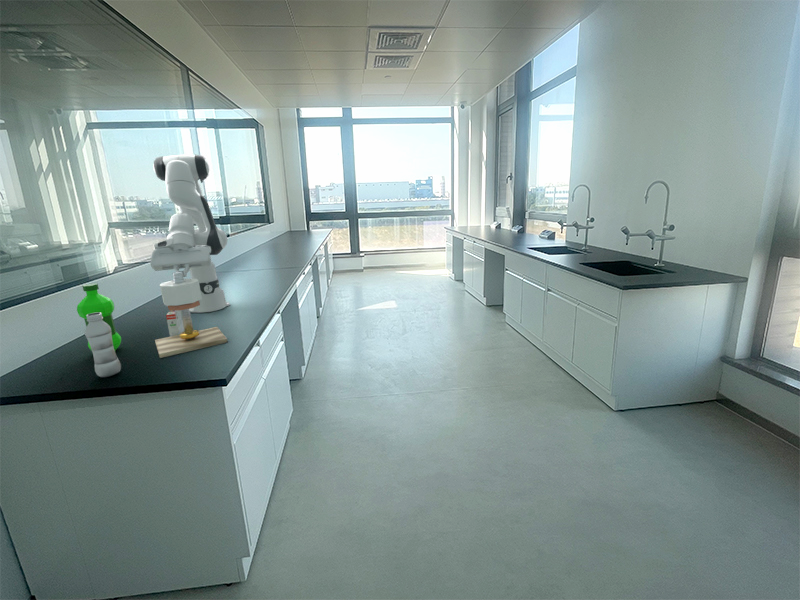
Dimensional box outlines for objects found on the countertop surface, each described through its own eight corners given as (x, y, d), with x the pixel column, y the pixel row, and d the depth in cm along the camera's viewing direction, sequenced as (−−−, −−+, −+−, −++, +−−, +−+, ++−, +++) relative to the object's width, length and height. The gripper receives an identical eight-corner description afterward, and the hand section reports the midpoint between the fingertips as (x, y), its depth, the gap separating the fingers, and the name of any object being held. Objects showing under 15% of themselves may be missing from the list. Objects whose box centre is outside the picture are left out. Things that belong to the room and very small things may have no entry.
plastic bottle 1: (82, 357, 139) (63, 288, 132) (107, 346, 149) (91, 281, 142) (107, 357, 137) (89, 288, 131) (131, 346, 147) (115, 281, 141)
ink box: (170, 338, 153) (162, 303, 149) (174, 332, 161) (167, 298, 157) (180, 337, 154) (173, 301, 150) (184, 331, 162) (177, 297, 158)
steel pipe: (179, 338, 148) (166, 272, 141) (198, 334, 152) (186, 270, 145) (182, 343, 143) (168, 275, 136) (201, 339, 146) (188, 272, 140)
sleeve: (162, 301, 145) (158, 282, 143) (198, 295, 151) (194, 277, 150) (165, 307, 135) (161, 287, 133) (203, 300, 142) (200, 282, 140)
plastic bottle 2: (127, 370, 126) (112, 310, 120) (110, 379, 119) (94, 317, 114) (109, 370, 126) (93, 311, 121) (91, 379, 120) (74, 317, 115)
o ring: (167, 306, 145) (166, 302, 145) (196, 301, 151) (196, 297, 150) (170, 312, 137) (169, 307, 137) (201, 306, 143) (200, 302, 142)
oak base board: (155, 343, 149) (154, 339, 148) (217, 330, 161) (217, 326, 160) (159, 358, 134) (159, 353, 134) (227, 342, 146) (226, 338, 146)
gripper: (212, 249, 158) (214, 277, 151) (155, 254, 152) (153, 284, 145) (209, 239, 152) (210, 268, 146) (149, 244, 146) (148, 274, 140)
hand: (181, 276), depth 145 cm, fingers closed
